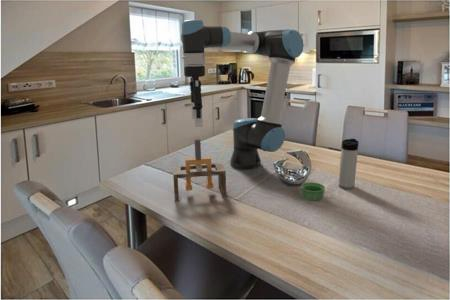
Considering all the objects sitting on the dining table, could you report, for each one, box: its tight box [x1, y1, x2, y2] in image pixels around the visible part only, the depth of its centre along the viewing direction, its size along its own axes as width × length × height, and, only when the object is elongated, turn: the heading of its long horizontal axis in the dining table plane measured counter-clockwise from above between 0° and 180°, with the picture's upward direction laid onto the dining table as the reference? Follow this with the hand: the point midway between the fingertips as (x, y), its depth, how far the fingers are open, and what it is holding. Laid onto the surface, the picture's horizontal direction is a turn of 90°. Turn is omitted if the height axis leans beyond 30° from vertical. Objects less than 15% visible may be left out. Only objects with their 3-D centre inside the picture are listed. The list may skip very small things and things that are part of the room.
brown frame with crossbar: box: [172, 162, 227, 202], centre depth 140 cm, size 20×10×11 cm, turn 99°
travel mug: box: [338, 138, 359, 190], centre depth 144 cm, size 6×7×20 cm
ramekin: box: [300, 181, 326, 202], centre depth 137 cm, size 9×9×4 cm
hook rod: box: [195, 164, 203, 172], centre depth 138 cm, size 2×8×2 cm, turn 9°
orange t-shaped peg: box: [184, 137, 215, 192], centre depth 138 cm, size 11×5×20 cm, turn 99°
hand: (197, 122), depth 133 cm, fingers open, 13 cm apart
